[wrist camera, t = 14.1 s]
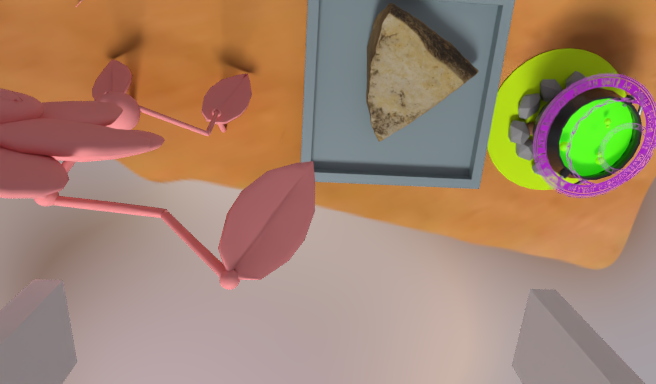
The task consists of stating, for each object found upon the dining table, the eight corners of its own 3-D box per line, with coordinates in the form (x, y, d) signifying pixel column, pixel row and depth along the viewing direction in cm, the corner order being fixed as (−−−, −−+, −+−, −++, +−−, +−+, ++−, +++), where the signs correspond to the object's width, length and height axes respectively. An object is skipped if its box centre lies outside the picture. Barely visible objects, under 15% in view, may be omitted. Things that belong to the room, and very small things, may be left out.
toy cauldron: (555, 213, 51) (619, 260, 40) (455, 141, 47) (497, 173, 37) (655, 103, 47) (754, 124, 36) (553, 16, 43) (631, 12, 33)
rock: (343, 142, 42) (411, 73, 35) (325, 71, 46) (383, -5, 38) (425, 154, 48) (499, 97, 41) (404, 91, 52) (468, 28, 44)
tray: (300, 176, 48) (300, 180, 46) (308, -20, 41) (308, -22, 40) (474, 184, 49) (479, 188, 47) (509, -5, 42) (516, -6, 41)
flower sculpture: (304, 151, 47) (302, 444, 14) (46, 111, 44) (-712, 355, 11) (330, -7, 42) (420, -133, 9) (39, -63, 39) (-1387, -544, 6)
